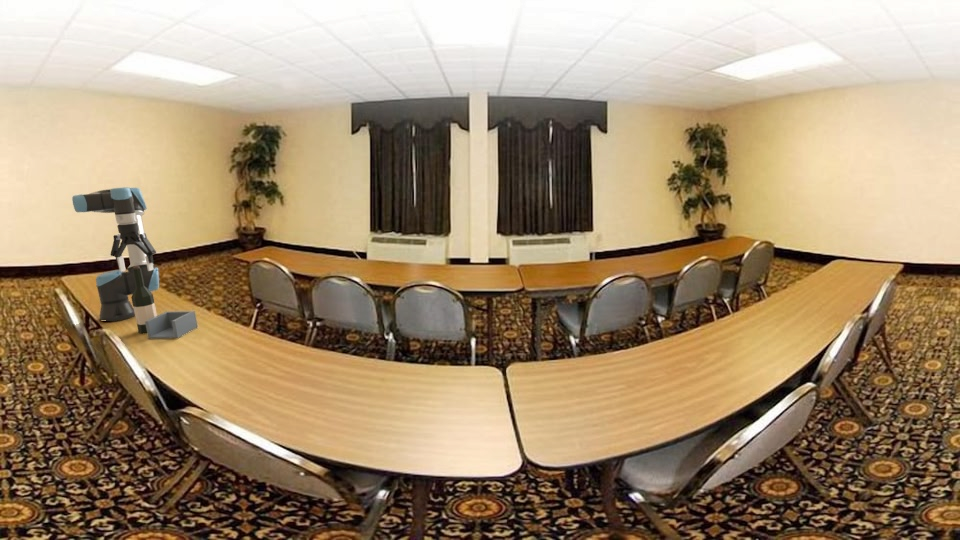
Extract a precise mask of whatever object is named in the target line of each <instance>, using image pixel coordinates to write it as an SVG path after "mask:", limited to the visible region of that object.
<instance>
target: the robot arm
mask: <svg viewBox="0 0 960 540" xmlns="http://www.w3.org/2000/svg"><path fill="white" fill-rule="evenodd" d="M143 196H144V195H143V193H142V191H141V189H140V188H139V187H125V186H124V187H115V188H109V189H101V190H97V191H93V192H89V193H86V194H83V193H82V194H75V195H73V196H72V198H71V199H72V205H73V209H74V211H75V212H76V213H89V212H92V213H102V214H103V213H104V214H112V213H113V214H114V215H115V221H116V223H117V225H116V226H117V230H118V231H117V232H118V233H119V234H114V235H113V243H112V246H111V251H110V254H109V255H110V256H111V257H115V260H116V264H117V266H118V269H115V270H110V271H107V272H103V273H101V274H98V275H97V276H96V278H95V283H96V287H97V292H98V293H97V294H98V297H99V301H100V310H99V311H100V312H99V313H100V314H99V320H100V319H101V320H106V321H114V322H118V321H117V320H120V321H124V320H128V319H130V317H131V318H133V317H135V313H134V308H133V304H132V302H131V301H130V300H129V296H132V295H133V292H134V290H135V288H136V286H135V281H134V276H133V271H132V269H133V267H135V266H139V267H140V268H141V271H142V276H143V280H144V285H145V287H146V288H147V289H148V290H149V291H150V292H151V293H152V292H154V291H157V290H159V288H160V273H159V268H158V267H155V264H154V256H153V255H155V254H157V251H156V250H155V249H156V248H154V247H153V245H152V243H151V242H150V240H149V239H148V238H147V234H146V233H145V232H146V231H145V228H144V223H143V215H145V211H146V210H147V209H148V208H147V204H146V202H145V199H144V197H143ZM126 248H127V253H128V254H127V255H128V257H129V258H128V259H129V263H130V265H129V266H128V267H127V269H126V265H125V259H124V256H123V253H124V251H125V250H126Z"/></svg>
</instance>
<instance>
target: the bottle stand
mask: <svg viewBox="0 0 960 540" xmlns="http://www.w3.org/2000/svg"><path fill="white" fill-rule="evenodd" d="M145 324H146V329H147V333H146V334H147V338H148V339H149V340H157V339H158V340H161V339H163V340H165V339H166V340H168V339H171V338H178V339H180V338H182V337H183V336H182V335H184V334H185V335H187V334H189V333H190V332H189V331H191V330H193V329H195V328H196V329H198V328H197V327H199V326H198V321H197V316H196V311H195V310H179V311H178V310H175V311H172V310H171V311H170V310H169V311H164V312H162V313H160V314H157V316H156V317H154V318H151V319H149V320H147V321H145ZM196 329H195V330H196ZM193 331H194V330H193ZM188 332H189V333H188ZM191 332H192V331H191ZM186 333H187V334H186ZM185 335H184V336H185ZM181 336H182V337H181ZM179 337H180V338H179ZM171 340H172V339H171Z"/></svg>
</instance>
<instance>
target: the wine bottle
mask: <svg viewBox="0 0 960 540" xmlns="http://www.w3.org/2000/svg"><path fill="white" fill-rule="evenodd" d="M132 271H133V276H134V281H135V286H136V288H135V290H134V292H133V294H132V295H131V297H130V298H131V304H132V307H133V308H134V313H135V316H134V317H135V322H136V325H137V331H138V333H139V334H143V333H144V334H147V329H146V324H145V321H147V320H149V319H151V318H154V317H156V316H158V314H157V308H156V304H155V298H154V294H153V292H152V291H151V292H150V291H149V290H148V289H147V288H146V287H145V285H144V280H143V276H142V271H141V268H140V267H139V266H135V267H133V269H132Z"/></svg>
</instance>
